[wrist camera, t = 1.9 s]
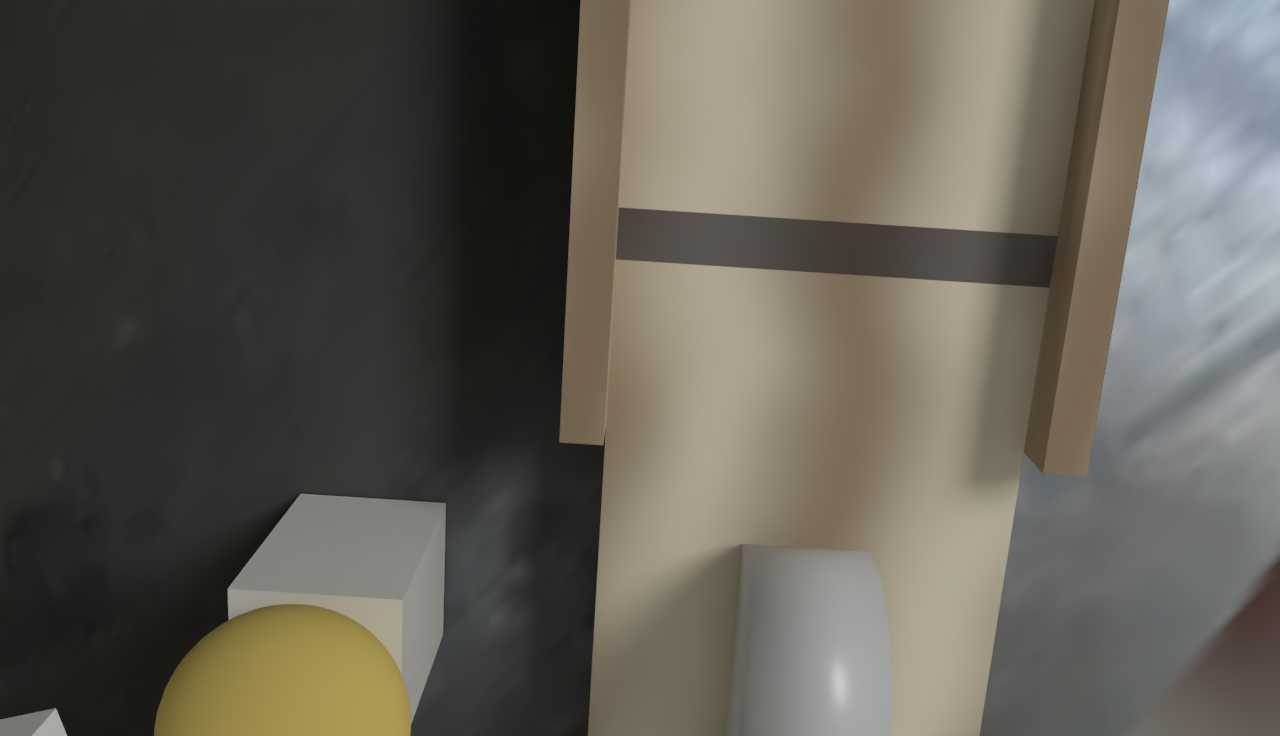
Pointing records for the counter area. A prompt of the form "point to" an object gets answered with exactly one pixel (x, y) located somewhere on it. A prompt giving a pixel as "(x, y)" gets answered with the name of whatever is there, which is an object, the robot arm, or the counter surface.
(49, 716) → the robot arm
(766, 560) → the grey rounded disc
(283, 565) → the tee
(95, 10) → the counter surface
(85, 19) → the counter surface
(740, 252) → the lane
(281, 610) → the ball
